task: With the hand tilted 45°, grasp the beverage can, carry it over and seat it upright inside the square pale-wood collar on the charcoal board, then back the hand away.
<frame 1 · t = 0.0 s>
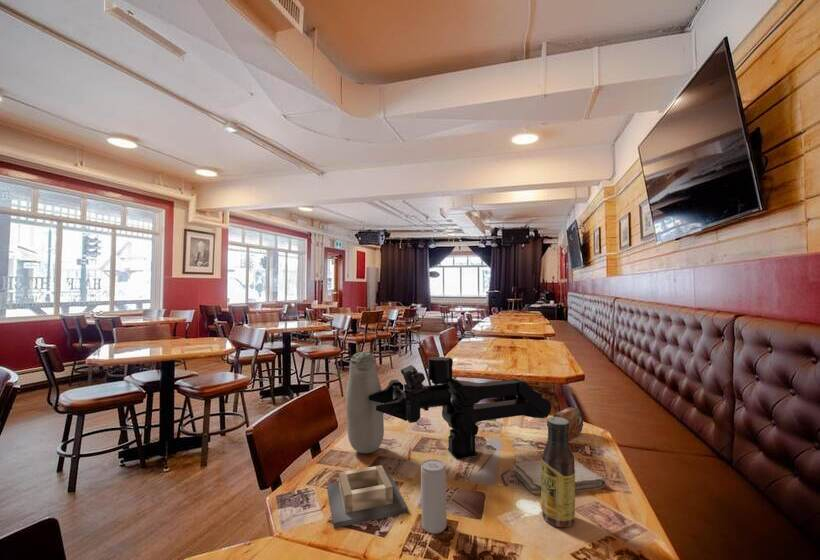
hand: (372, 402, 96), 17 cm above the table, tool horizontal, fingers open, 9 cm apart
washcloth: (556, 482, 89), on the table
sauce bottle: (558, 521, 74), on the table
can collar: (364, 499, 82), on the table
beverage can: (434, 528, 72), on the table
brown rounded slab: (567, 438, 113), on the table
grey bottle: (367, 451, 106), on the table, touching gripper
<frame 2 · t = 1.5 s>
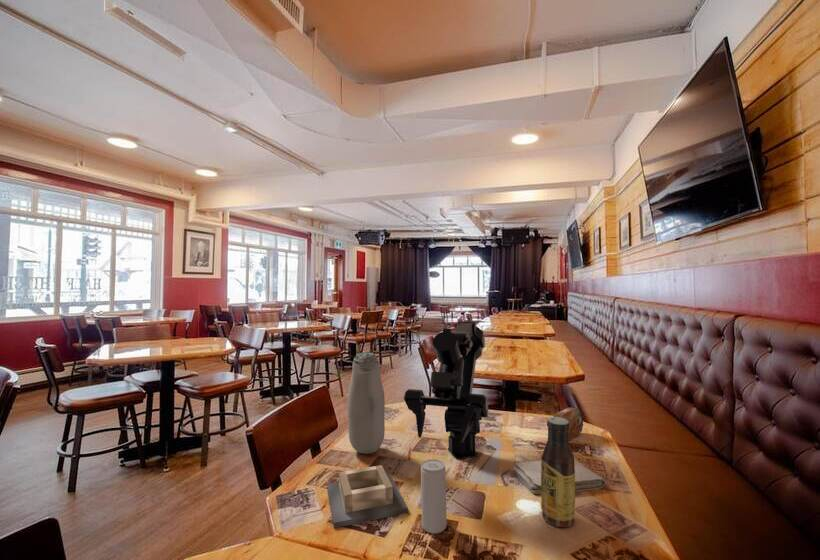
hand: (439, 439, 80), 14 cm above the table, tool tilted 45°, fingers open, 9 cm apart
grey bottle: (367, 452, 106), on the table
everything else where it was.
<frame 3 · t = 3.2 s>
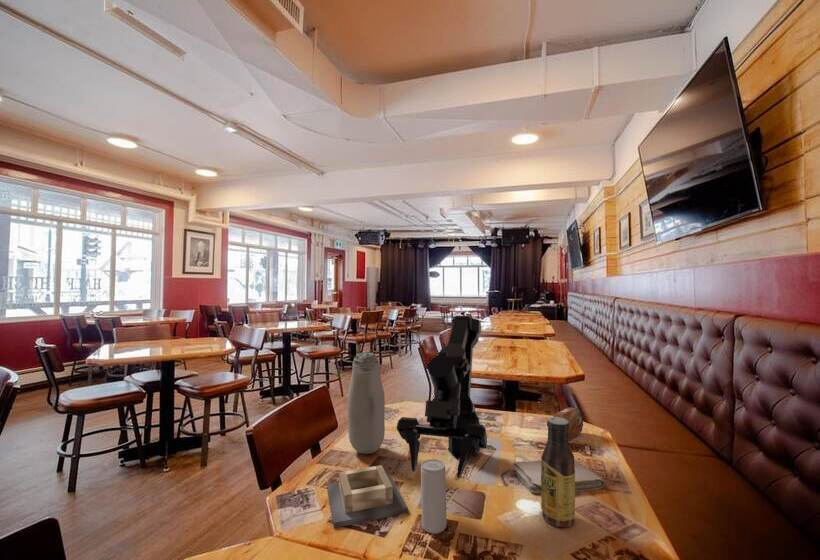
hand: (435, 474, 74), 9 cm above the table, tool tilted 45°, fingers open, 9 cm apart
nothing on the table moved.
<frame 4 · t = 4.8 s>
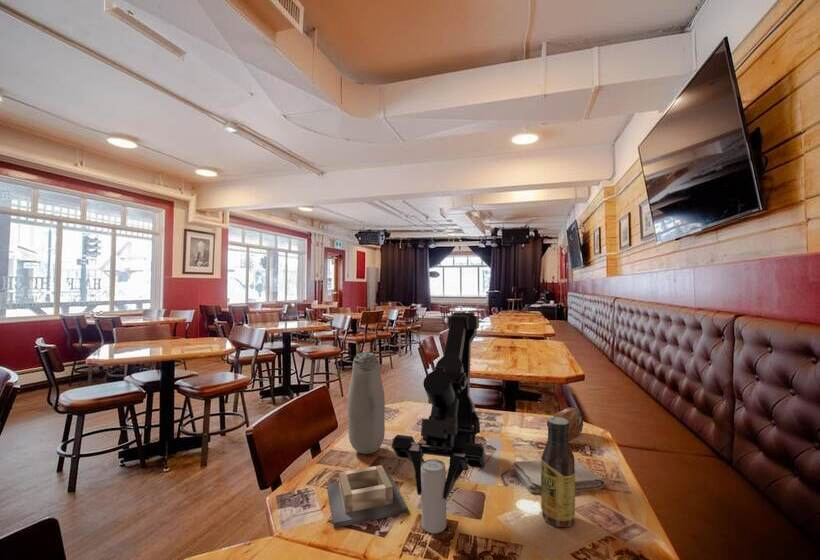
hand: (431, 496, 71), 7 cm above the table, tool tilted 45°, fingers closed on beverage can, 5 cm apart
beverage can: (434, 528, 72), on the table, touching gripper
everything else where it was.
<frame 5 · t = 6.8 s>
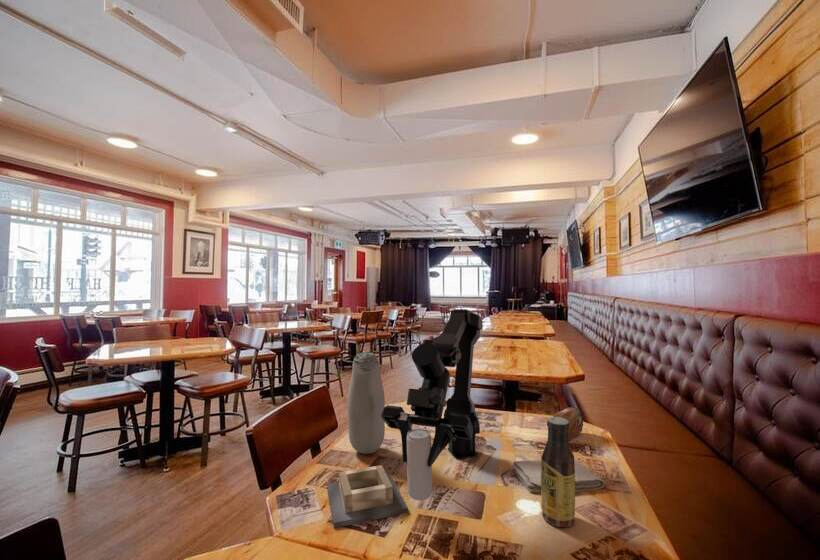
hand: (416, 463, 72), 12 cm above the table, tool tilted 45°, fingers closed on beverage can, 5 cm apart
beverage can: (419, 495, 74), point 5 cm above the table, touching gripper
everything else where it was.
when the fingers open (9 cm above the table, at t = 9.0 s): beverage can drops 1 cm, resting on can collar.
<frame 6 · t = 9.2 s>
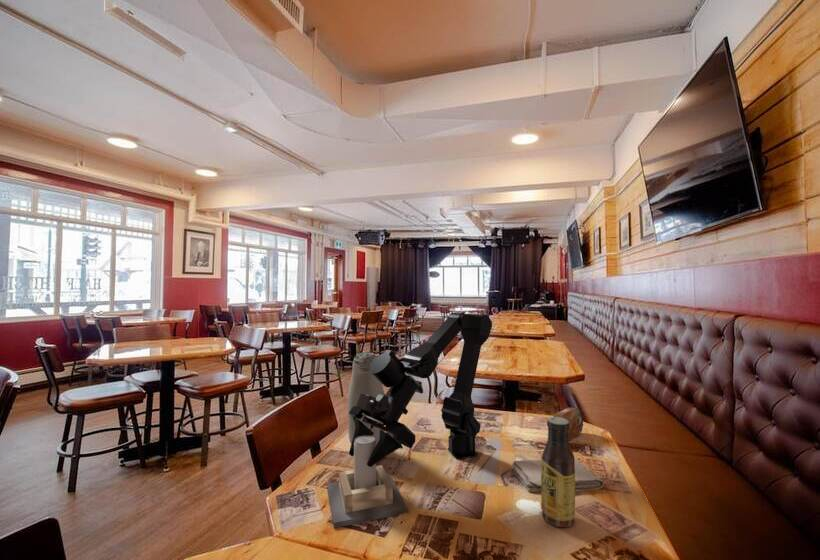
hand: (359, 460, 81), 9 cm above the table, tool tilted 45°, fingers open, 7 cm apart
beverage can: (365, 495, 82), point 1 cm above the table, touching can collar
everything else where it was.
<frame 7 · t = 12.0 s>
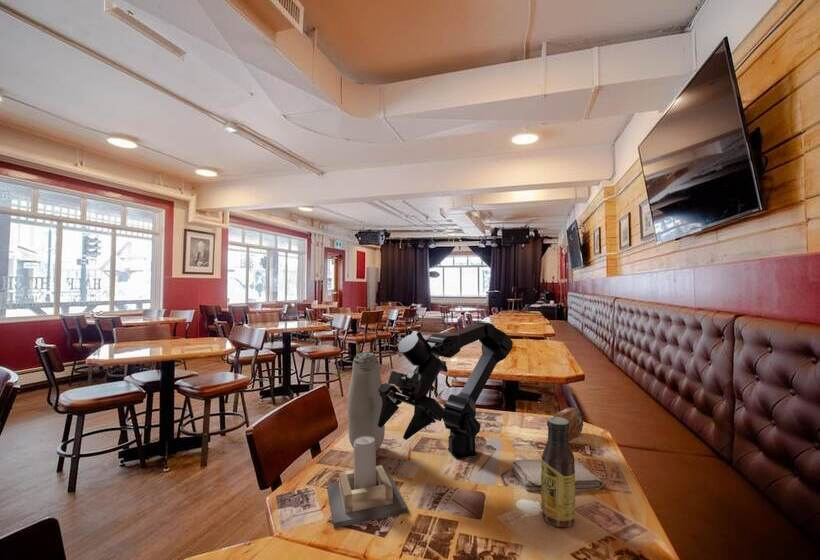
hand: (391, 432, 87), 12 cm above the table, tool tilted 45°, fingers open, 9 cm apart
nothing on the table moved.
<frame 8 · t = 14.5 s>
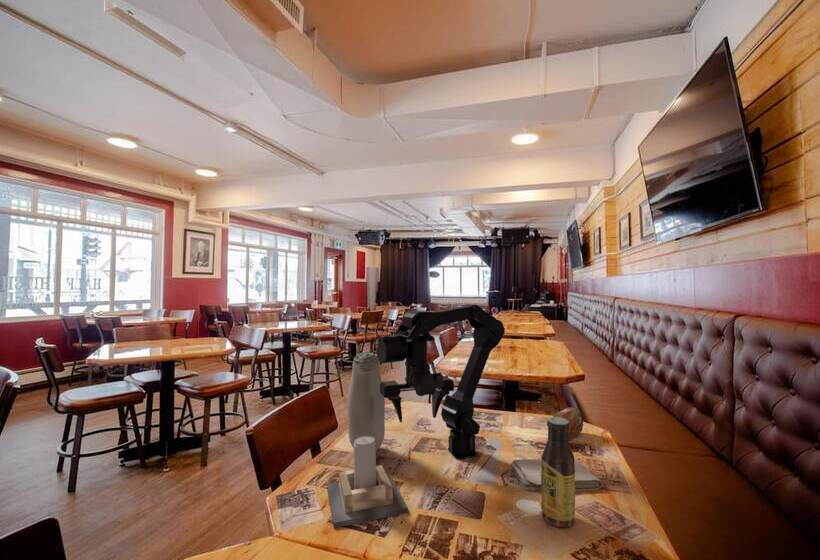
hand: (417, 419, 97), 12 cm above the table, tool pointing down, fingers open, 9 cm apart
nothing on the table moved.
at the end: beverage can 0.1 cm off-centre on the can collar, point 0.8 cm above the can collar's base; beverage can tilted 0°; the gripper is holding nothing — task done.
